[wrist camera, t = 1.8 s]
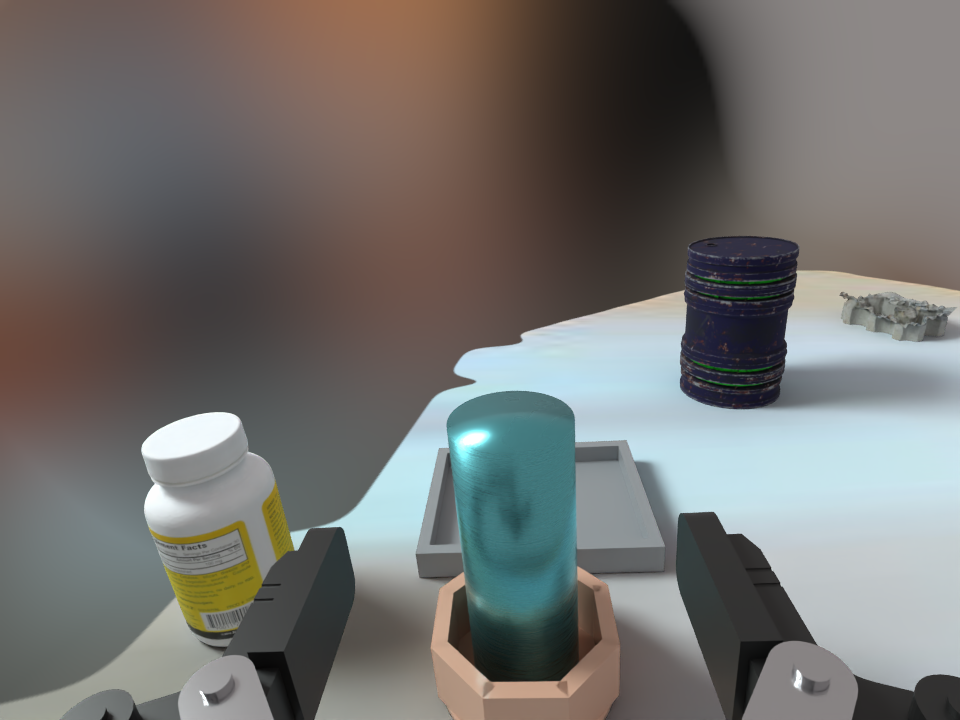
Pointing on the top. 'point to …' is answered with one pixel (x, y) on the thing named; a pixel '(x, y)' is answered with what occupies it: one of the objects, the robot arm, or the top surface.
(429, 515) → the tray
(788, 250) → the dark blue barrel
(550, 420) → the bottle
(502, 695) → the peach octagonal bowl
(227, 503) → the supplement bottle
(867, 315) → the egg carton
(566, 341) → the top surface
